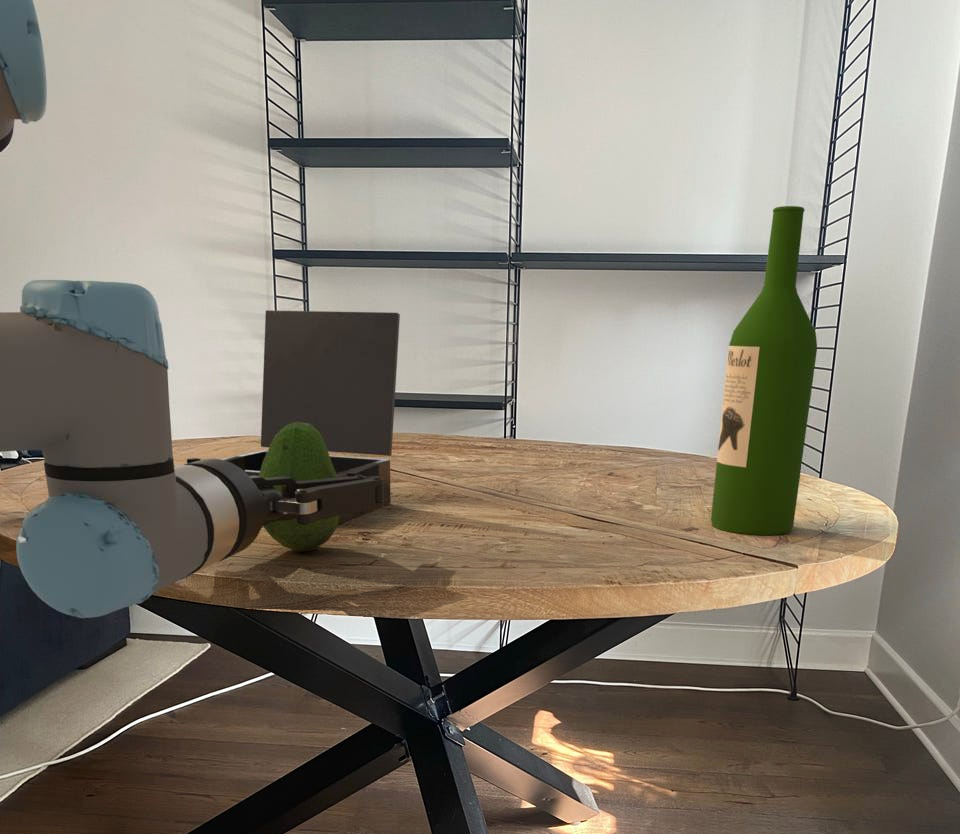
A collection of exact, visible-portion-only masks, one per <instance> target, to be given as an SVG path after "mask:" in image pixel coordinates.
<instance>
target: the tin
mask: <svg viewBox="0 0 960 834" xmlns="http://www.w3.org/2000/svg"><path fill="white" fill-rule="evenodd" d="M267 452H268V450H259V451H254V452H250V453H245V454H240V455H238V456H243V457H244V464H245V473H247V475H248V476H259V474H260V470H261V467H262V464H263V461H264V458H265V456H266V454H267ZM236 456H237V455H235V456H234V457H236ZM329 456H330V459H331V462H332V465H333V467H334V470H335V472H336V475H337V478H338V477H347V473H349V472H352V471H354V470H356V469H359V468H361V467H364V466H366V465H368V464H371V463H374V464H379V478H382V479H383V488H384V507H385V506H387V505H390V504H391V503H392V501H391V500H392V499H391V498H392V497H391V459H386V458H373V457H372V458H371V457H358V456H357V457H356V456H342V455H330V454H329ZM232 457H233V456H230V457H225V458H221V460H225V459H228V458H232ZM375 510H376V509H374V510H368V511H366V514H368V513H371V512H373V511H375ZM363 515H364V514H361V513H352V514H347V515H342V516H339V520H338V524H337V526H338V525H340V524H343V523H346V522H348V521H351V520H353V519H355V518H358V517H360V516H363Z"/></svg>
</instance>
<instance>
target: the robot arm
mask: <svg viewBox="0 0 960 834" xmlns="http://www.w3.org/2000/svg"><path fill="white" fill-rule="evenodd" d="M47 81H48V80H47V70H46V61H45V53H44V46H43V39H42V34H41V29H40V24H39V20H38V15H37V12H36V7H35V4H34V0H0V156H1V155H2V154H3V153H4V152H6V151H7V150H8V148H9V147H10V145H11V142H12V141H13V136H14V129H15V120H19V121H20V120H21V122H22V124H25V125H28V124H29V123H30V122H33V123H36V122H38V121H40V120H41V119H42V118H43V117H44V116H45V113H46V110H47V101H48V100H47V99H48V88H47V87H48V85H47V84H48V83H47ZM160 317H161V316H160V312H159V305H158V302H157V301H156V298H155V297H154V295H153V293H152V292H150V291H149V290H148V289H147V288H146V287H143V286H142V285H140V284H136V283H131V282H130V283H129V282H121V281H120V282H119V281H100V280H99V281H98V280H70V279H69V280H68V279H33V280H30V281H28V282H26V283H25V284H24V285H23V287H22V290H21V306H19V311H18V312H17V311H15V312H10V311H9V312H4V311H3V312H2V311H1V312H0V453H2V452H3V453H4V452H20V451H21V452H22V451H40V450H41V452H42V457H43V460H44V462H43V467H44V474H45V480H46V486H47V487H46V488H47V493H48V497H47V498H46V501H45V500H44V501H43V502H41V503H39V504H37V505H36V506H35V507H34V508H32V509H31V510H30V511H29V512H28V513H27V514H26V516H25V517H24V518H23V520H22V525H21V527H20V530H19V534H18V537H17V539H16V547H15V549H16V558H17V563H18V566H19V569H20V571H21V574H22V576H23V577H24V579H25V581H26V583H27V585H28V587H30V589H31V591H32V592H33V593H34V594H35V595H36V596H37V597H38V598H39V599H40V600H41V601H42V602H44V603H45V604H46V605H47V606H49V607H51V608H52V609H53V610H55V611H57V612H60V613H62V614H65V615H68V616H72V617H75V618H79V619H87V618H91V619H92V618H99V617H102V616H106V615H108V614H111V613H113V612H114V613H115V612H116V611H119V610H121V609H124V608H128V607H129V608H130V607H133V606H135V605H137V604H138V605H140V604H142V603H143V602H145V601H146V600H148V599H150V597H151V596H152V595H154V594H156V593H157V592H160V591H161V590H163V589H166V588H167V587H169V586H172V585H173V584H175V583H178V584H179V583H182V584H183V583H185V582H187V581H188V580H189V577H190V576H192V575H194V574H196V573H198V572H200V571H202V570H204V569H206V568H208V567H210V566H213V565H215V564H217V563H219V562H221V561H224V560H226V559H228V558H230V557H232V556H235V555H237V554H239V553H240V552H242V551H245V550H246V549H248V548H249V547H250V546H251V545H252V544H253V543H254V541H256V539H257V538H258V536H259V534H260V532H261V530H262V528H263V527H264V526H265V525H267V524H268V523H269V522H276V521H284V520H293V519H295V518H296V520H297V523H298V524H301V525H307V524H310V523H313V522H316V521H318V520H321V519H326V518H331V517H336V516H342V515H347V514H352V513H361V514H363V515H366V514H367V513H366V511H368V510H373V511H375V510H380V509H383V508H384V507H385V506H384V488H383V479H382V478H379V464H374V463H371V464H368V465H366V466H364V467H361V468H359V469H356V470H354V471H352V472H349V473H347V477H338V478H327V479H316V480H304V481H295V480H294V479H292V478H289V477H286V476H280V477H268V478H262V477H259V476H248V475H247V473H245V464H244V457H243V456H239V455H235V456H236V457H235V456H231V457H232V458H230V457H227V458H228V459H225V458H224V459H225V460H221V459H222V458H221V459H220V458H204V459H201V458H198V457H197V458H192V457H191V458H187V459H186V463H184V464H179V465H175V463H174V461H175V460H174V459H175V458H174V454H173V439H172V438H173V437H172V424H171V408H170V407H171V406H170V392H169V391H170V390H169V373H168V370H169V361H168V359H167V355H166V347H165V339H164V333H163V332H164V331H163V324H162V321H161V318H160ZM277 485H281V492H282V494H281V493H280V492H279V491H278V490H277V489H275V488H274V487H273V486H277ZM374 509H375V510H374Z"/></svg>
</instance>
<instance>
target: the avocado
mask: <svg viewBox="0 0 960 834" xmlns="http://www.w3.org/2000/svg"><path fill="white" fill-rule="evenodd" d="M267 451H268V452H267V454H266V456H265V458H264V461H263V464H262V467H261V470H260V474H259V477H262V478H268V477H280V476H286V477H289V478H292V479H294V480H295V481H304V480H316V479H327V478H337V475H336V472H335V470H334V467H333V465H332V462H331V459H330V456H329V455H330V454H329V453H330V452H328V450H327V448H326V445H325V442H324V440H323V438H322V436H321V434H320V433H319V432H318V431H317V430H316V429H315V428H314V427H313V426H312V425H311V424H308V423H301V422H294V423H291V424H288V425H286V426H285V427H284V428H282V429H281V430H280V431H279V432H278V433H277V434H276V435H275V437H274V439H273V441H272V443H271V445H270V447H268V450H267ZM273 487H274V488H275V489H277V490H278V491H279V492H280V493H281V494H282V492H281V485H277V486H273ZM338 520H339V516H336V517H331V518H326V519H321V520H318V521H316V522H313V523H310V524H307V525H301V524H298V523H297V520H296V518H295V519H293V520H284V521H276V522H269V523H268V524H267V525H265V526H263V528H264V529H265V531H266V532H267V534H268V535H269V536H270V537H271V538H272V539H273V540H274V541H276V542H277V543H278V544H280V546H282V547H284V548H285V549H288V550H292V551H295V552H298V553H299V552H300V553H301V552H310V551H314V550H317V548H320V547H321V546H322V545H324V544H326V543H327V542H328V541H329V539H330V538H331V537H332V535H333V534H334V532H335V531H336V530H337V527H338V525H339V524H338ZM337 524H338V525H337Z"/></svg>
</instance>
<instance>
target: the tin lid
mask: <svg viewBox="0 0 960 834" xmlns="http://www.w3.org/2000/svg"><path fill="white" fill-rule="evenodd" d="M400 318H401V314H400V313H399V312H387V311H386V312H383V311H382V312H380V311H332V310H331V311H328V310H327V311H325V310H324V311H323V310H321V311H320V310H316V311H315V310H265V320H264V321H265V322H264V346H263V375H262V399H261V401H262V402H261V426H260V427H261V429H260V447H261V448H269V447H270V445H271V443H272V441H273V439H274V437H275V435H276V434H277V433H278V432H279V431H280V430H281V429H282V428H284V427H285V426H286V425H288V424H291V423H294V422H301V423H308V424H311V425H312V426H313V427H314V428H315V429H316V430H317V431H318V432H319V433H320V434H321V436H322V438H323V440H324V442H325V445H326V448H327V450H328V453H344V454H357V455H358V454H360V455H371V456H372V455H373V456H386V457H388V456H389V457H392V454H393V439H394V438H393V437H394V436H393V435H394V421H395V419H394V418H395V405H396V403H395V402H396V387H397V370H398V369H397V368H398V351H399V337H400V321H401V320H400Z"/></svg>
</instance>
